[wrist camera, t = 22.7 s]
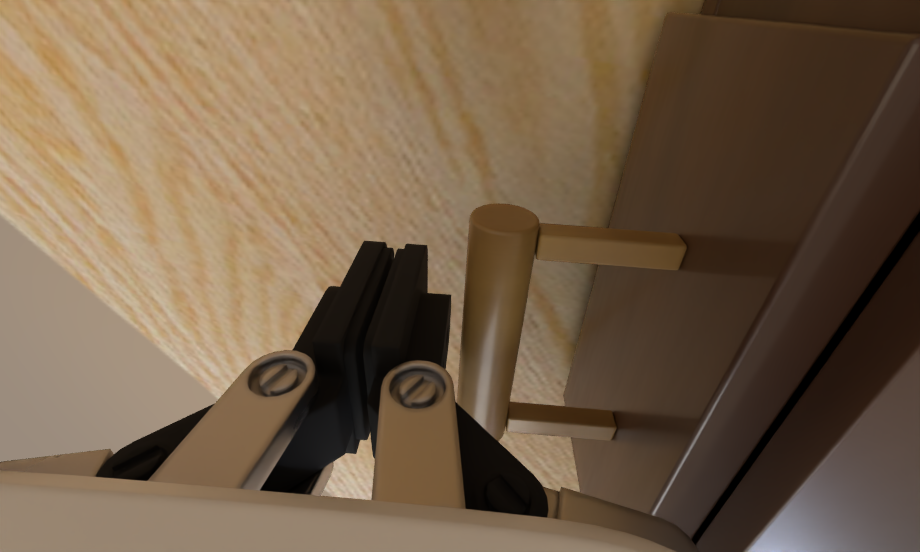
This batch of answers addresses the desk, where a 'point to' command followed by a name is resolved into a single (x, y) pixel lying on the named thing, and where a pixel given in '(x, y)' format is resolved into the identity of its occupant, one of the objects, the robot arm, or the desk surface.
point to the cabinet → (841, 392)
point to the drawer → (711, 257)
